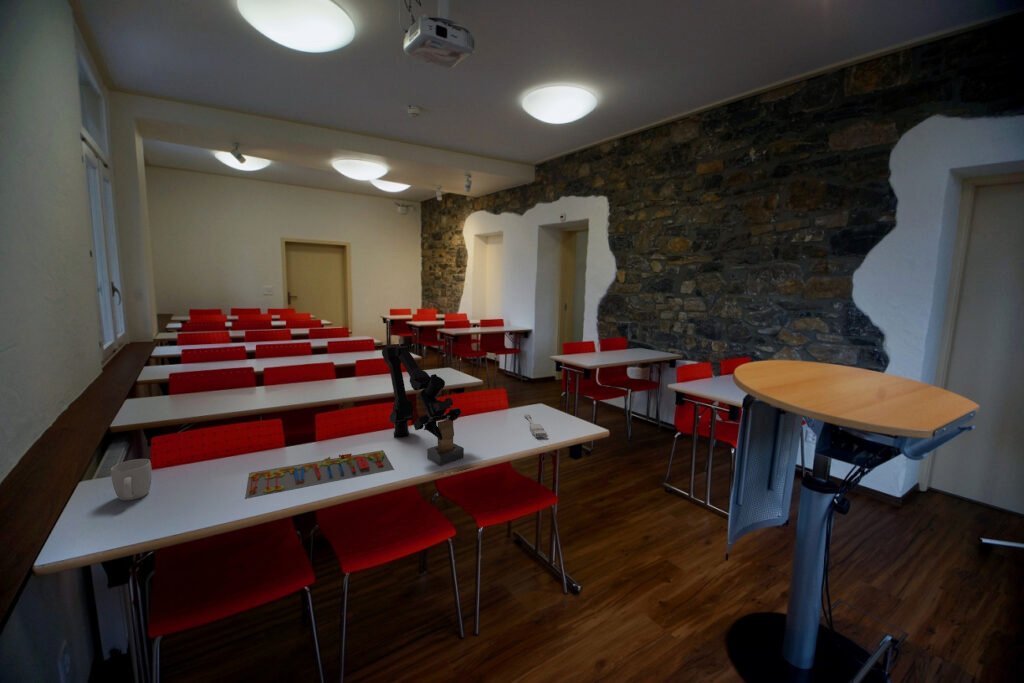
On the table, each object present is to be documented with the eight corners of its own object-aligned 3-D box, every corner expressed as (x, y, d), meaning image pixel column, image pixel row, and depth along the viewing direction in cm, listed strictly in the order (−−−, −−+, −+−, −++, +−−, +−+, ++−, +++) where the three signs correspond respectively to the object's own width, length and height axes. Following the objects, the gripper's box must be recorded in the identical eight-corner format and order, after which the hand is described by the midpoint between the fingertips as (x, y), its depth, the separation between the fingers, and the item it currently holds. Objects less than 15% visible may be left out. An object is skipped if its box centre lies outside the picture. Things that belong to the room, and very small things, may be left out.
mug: (118, 493, 130) (114, 462, 129) (155, 486, 135) (152, 456, 134) (107, 512, 120) (103, 478, 118) (148, 503, 125) (145, 471, 123)
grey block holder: (427, 458, 159) (427, 448, 158) (450, 451, 166) (450, 441, 166) (440, 466, 153) (440, 455, 152) (463, 458, 160) (463, 448, 160)
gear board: (382, 445, 166) (394, 464, 149) (383, 451, 166) (394, 471, 150) (248, 467, 145) (244, 493, 128) (249, 474, 145) (245, 500, 128)
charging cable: (530, 417, 213) (531, 411, 213) (546, 438, 181) (546, 431, 181) (521, 418, 212) (521, 411, 212) (534, 439, 180) (534, 431, 180)
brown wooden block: (437, 455, 159) (437, 422, 157) (448, 451, 162) (448, 419, 160) (442, 457, 157) (442, 424, 155) (453, 454, 160) (453, 421, 158)
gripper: (417, 395, 153) (434, 433, 146) (459, 387, 165) (476, 421, 159) (406, 411, 159) (422, 448, 153) (447, 402, 172) (463, 435, 166)
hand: (447, 437), depth 157 cm, fingers closed on brown wooden block, 5 cm apart
